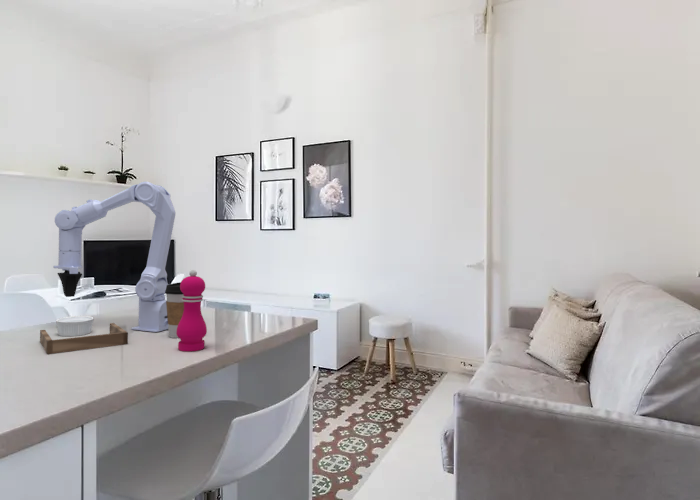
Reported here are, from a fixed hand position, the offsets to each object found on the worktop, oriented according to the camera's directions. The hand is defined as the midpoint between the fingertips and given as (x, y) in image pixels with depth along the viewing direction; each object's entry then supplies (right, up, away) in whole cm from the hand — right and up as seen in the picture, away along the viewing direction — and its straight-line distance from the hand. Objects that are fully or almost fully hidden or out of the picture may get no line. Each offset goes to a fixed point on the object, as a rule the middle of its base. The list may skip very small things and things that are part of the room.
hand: (69, 296), depth 126 cm
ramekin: (+6, -10, -7) cm, 14 cm away
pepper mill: (+44, -11, -20) cm, 50 cm away
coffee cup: (+36, -11, -6) cm, 38 cm away
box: (+15, -10, -17) cm, 25 cm away
